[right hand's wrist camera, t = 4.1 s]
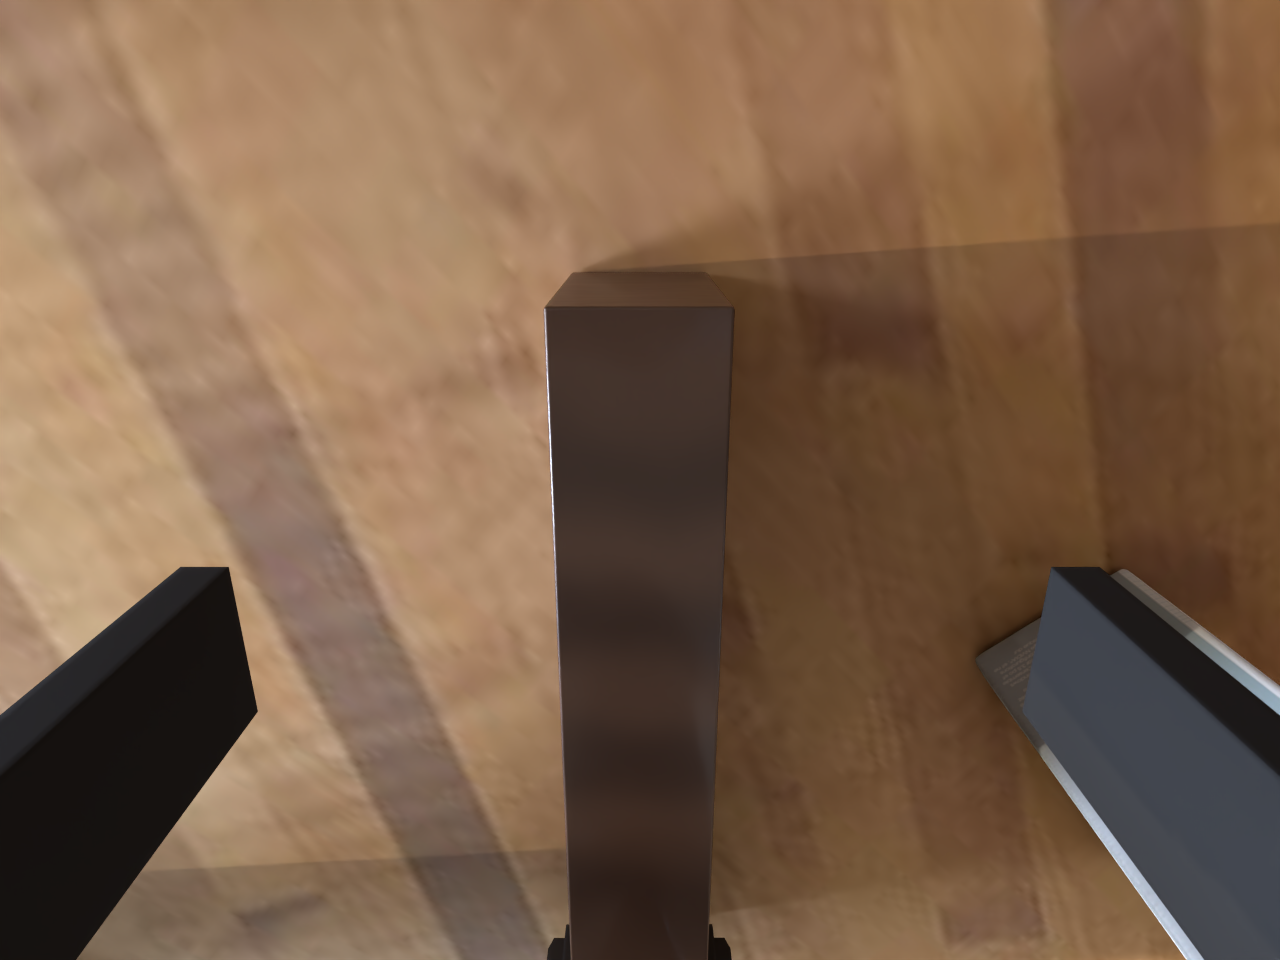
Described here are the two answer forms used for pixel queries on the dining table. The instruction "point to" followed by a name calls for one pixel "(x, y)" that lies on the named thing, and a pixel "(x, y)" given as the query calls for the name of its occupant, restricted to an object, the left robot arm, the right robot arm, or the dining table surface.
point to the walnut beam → (639, 599)
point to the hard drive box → (1009, 680)
